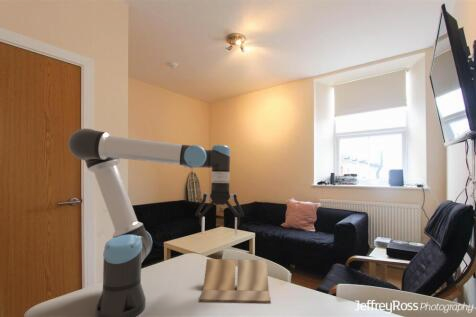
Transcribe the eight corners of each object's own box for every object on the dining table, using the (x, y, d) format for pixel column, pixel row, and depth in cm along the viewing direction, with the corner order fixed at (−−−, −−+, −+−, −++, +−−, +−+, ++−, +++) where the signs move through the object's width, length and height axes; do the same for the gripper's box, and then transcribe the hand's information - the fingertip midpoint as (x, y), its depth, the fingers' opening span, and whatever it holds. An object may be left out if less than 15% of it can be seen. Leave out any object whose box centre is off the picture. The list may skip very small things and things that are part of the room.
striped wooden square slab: (203, 291, 94) (203, 289, 93) (207, 260, 103) (206, 259, 102) (234, 291, 94) (234, 290, 93) (235, 261, 103) (235, 259, 102)
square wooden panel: (237, 291, 94) (237, 290, 93) (237, 261, 103) (237, 259, 102) (268, 292, 94) (268, 290, 93) (266, 261, 103) (266, 260, 102)
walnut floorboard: (199, 303, 86) (199, 299, 86) (203, 293, 93) (203, 289, 93) (270, 305, 85) (270, 300, 85) (268, 294, 93) (268, 290, 93)
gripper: (189, 182, 99) (187, 235, 97) (250, 183, 99) (250, 236, 97) (192, 181, 106) (190, 231, 105) (249, 182, 106) (248, 231, 105)
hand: (219, 233), depth 101 cm, fingers open, 13 cm apart
